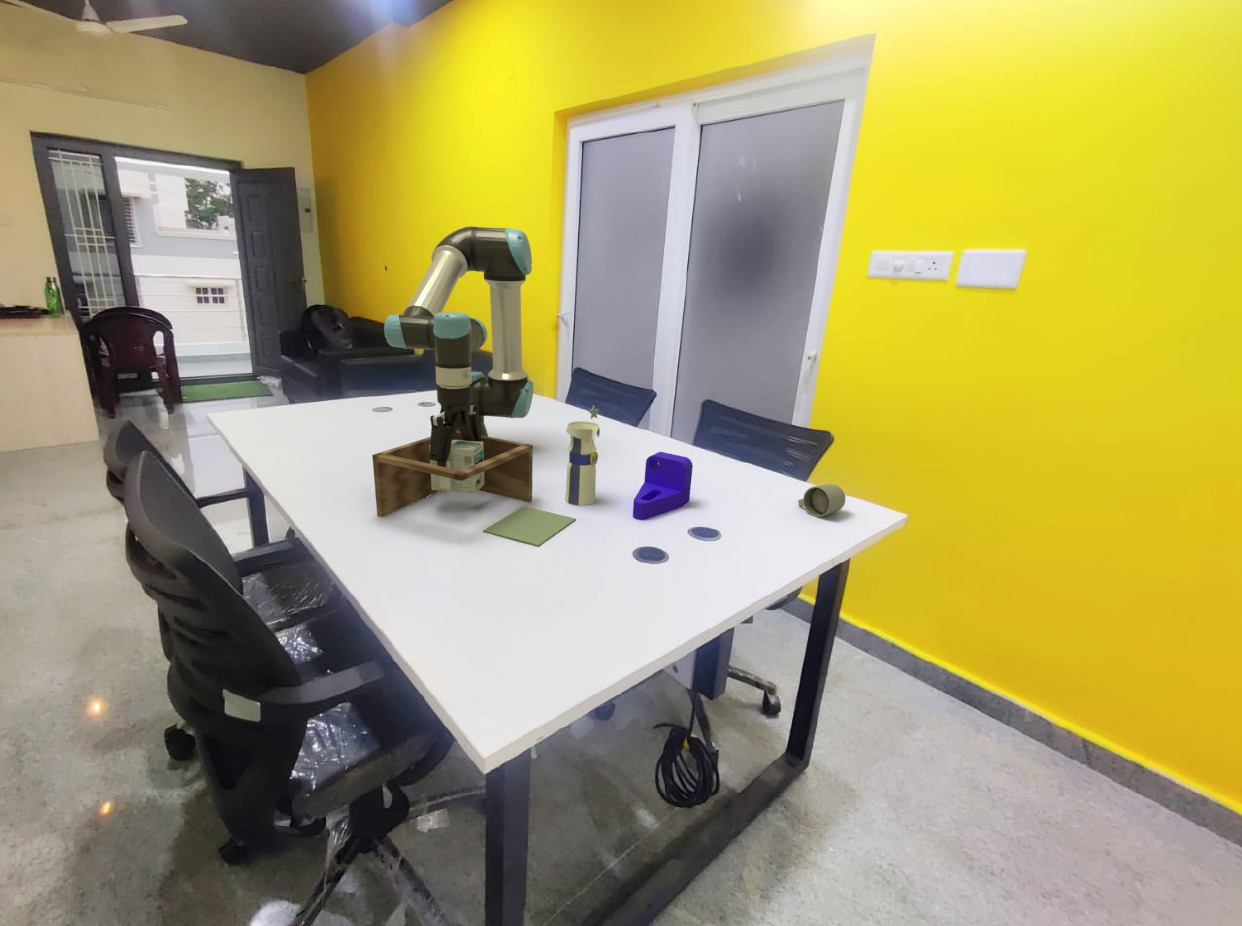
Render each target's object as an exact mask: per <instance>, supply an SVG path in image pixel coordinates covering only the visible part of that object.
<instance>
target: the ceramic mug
mask: <svg viewBox="0 0 1242 926" xmlns="http://www.w3.org/2000/svg"><path fill="white" fill-rule="evenodd" d="M797 502H798V506H799V507H804V509H805V511H806V512H807V513H808V514H810V515H811V516H812V517H815V518H823V517H825V516H828V515H832V514H833V513H837V512H839V511H840V510H841V509H842V508H843V507H844V506H845V503H846V494H845V492H844V489H842V488H841V487H840V486H838V485H837V484H831V483H827V484H821V485H814V486H811V487H809V488H808V489H807V490H806V491H805V492H804V494H803V498H801V499H798V500H797Z"/></svg>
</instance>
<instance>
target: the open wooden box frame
mask: <svg viewBox="0 0 1242 926" xmlns="http://www.w3.org/2000/svg"><path fill="white" fill-rule="evenodd" d="M481 438H482V442H483V449H484V461H483V462H480V463H478V464H476V465H473V466H471V467H468V468H466V469H463V470H461V471H459V470H455V469H450V468H446V467H441V466H437V465H432V464H430V458H429V456H430V454H429V446H430V442H431V436H429V437H426V438H423V439H419V440H416V441H413V442H412V441H411V442H410V443H407V444H406V443H405V444H403V445H399V446H398V447H397V446H396V447H394V448H390V449H388V450H384V451H381V452H378V453H374V454H372V468H373V478H374V493H375V506H376V513H377V514H376V516H378V517H381V518H383V517H385V516H388V515H391V514H392V513H394V512H397V511H399V510H401V508H402V509H403V507H404V508H406V507H408V506H410V505H409V504H411V503H413V502H415V503H417V502H419V501H418V500H420V499H422V498H424V499H426V498H425V497H427V496H429V495H431V494H433V495H435V494H434V493H436V492H438V491H440V492H443V491H442V490H432V489H431V474H434V475H439V476H443V477H447V478H452V479H456V480H460V481H463V480H465V479H468V478H470V477H472V476H474V475H477V474H479V473H481V472H484V480H485V484H484V485H483V486H482V487H481V488H480V489H479V490H478V492H483V491H484V492H485V493H488V494H492V495H497V496H501V497H505V498H509V499H513V500H517V501H523V502H527V503H529V502H531V501H533V464H534V463H533V458H534V457H533V453H534V452H533V444H528V443H524V442H518V441H512V440H506V439H503V438H497V437H492V436H488V437H487V436H482V435H481ZM452 440H463V438H462V435H461V432H460V431H456V432H455V433H454V435H453V439H452ZM475 440H477V439H475ZM463 441H464V440H463ZM438 493H439V492H438ZM436 494H437V493H436ZM431 496H432V495H431ZM429 497H430V496H429ZM427 498H428V497H427ZM422 500H423V499H422ZM416 501H417V502H416ZM420 501H421V500H420ZM413 504H414V503H413ZM407 505H408V506H407ZM411 505H412V504H411ZM405 506H406V507H405Z"/></svg>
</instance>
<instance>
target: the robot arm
mask: <svg viewBox="0 0 1242 926" xmlns="http://www.w3.org/2000/svg"><path fill="white" fill-rule="evenodd" d="M430 258H431V259H430V260H431V263H430V264H429V267H428V268H427V271H426V272H425V274H424V276H423V278H422V279H421V281H420V283H419V284H418V286H417V289H416V290H415V292H414V294H413V295H412V297H411V299H410V301H409V302H408V305H407V307H406V308H405V310H404V311H403V313H402V314H400V313H397V314H390V315H387V317H386V319H385V321H384V326H383V331H384V337H385V339H386V342H387V344H389V346H391V347H394V348H401V349H405V350H408V349H410V350H411V349H412V350H426V351H427V350H430V351H434V356H435V357H434V359H435V382H436V384H437V387H436V397H437V403H439V406H440V411H439V414H436V415H431V416H430V418H429V420H430V426H431V430H430V437H431V442H430V456H429V458H430V460H434V461H437V466H441V467H446V468H450V469H451V466H450V461H447V460H448V456H449V451H450V447H451V443H452V439H453V435H454V433H455V432H456V431H460V432H461V435H462V438H463V440H464V441H476V442H482V438H481V435H482V436H487V437H489V433H488V430H487V428H486V424H485V417H497V418H506V419H507V418H509V419H524V418H525V417H527V416H528V414H529V413H530V410H531V405H532V402H533V395H534V382H533V381H532V380H531V379H528V373H527V372H526V371H525V370H524V369H523V350H522V347H523V343H522V340H523V339H522V297H521V295H522V294H521V292H522V291H521V286H523V285H524V283H525V282H526V280H527V276H528V275H530V274H531V273H532V270H533V269H532V268H533V267H532V265H533V257H532V251H531V246H530V241H529V238H528V236H527V234H526V233H525V232H524V231H523V230H521V229H516V228H509V227H485V226H482V227H481V226H480V227H479V226H466V227H462V228H458V229H456V230H455V231H452V232H451V233H449V234H448V235H447V236H445V237H444V238H443V239H441V241H439V243H438V244H437V245H436V246H435V248H434V249H433V251H432V253H431V257H430ZM467 272H478V273H480V272H482V273H483V280H484V281H485V282H486V283H487V285H488V286H489V298H490V299H489V300H490V303H489V304H490V324H491V325H490V327H491V345H492V346H491V348H492V369H491V370H490V371H489V372H488V375H487V376H488V377H485V375H484V373H483V372H482V371H472V352H475V351H478V350H479V349H481V348H482V347H483V346H484V345H485V344H486V342H487V339H488V330H487V327H486V325H485V324H484V323H483V322H482V321H481V320H479V319H478V318H475V317H470V315H468V314H467V313H464V312H454V311H451V312H450V311H449V312H445V311H444V308H445V307H446V304H447V303H448V301H449V299H450V297H451V294H452V292H453V291H454V288H455V286H456V285H457V283H458V280H459V279H461V278H463V277H464V276H466V274H467ZM443 311H444V312H443ZM475 439H477V440H475ZM442 455H443V456H442ZM439 482H440V487H441V488H445V489H451V478H447V477H443V476H439Z"/></svg>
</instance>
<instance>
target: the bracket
mask: <svg viewBox="0 0 1242 926" xmlns="http://www.w3.org/2000/svg"><path fill="white" fill-rule="evenodd" d="M692 476H693V461H692V460H691V459H690V458H689V457H687V456H682V455H677V454H673V453H669V452H664V451H658V452H656V453H654V454H652V455H650V456H648V457H647V458H646V460H645V471H644V482H643V483H642V485H641V487H640V489H639V490H638V492H637V494H636V495H635V497H634V498H633V504H632V505H633V507H632V508H633V509H632V518H633V519H635V520H638V521H644V520H648V519H651V518H655V517H658V516H660V515H663V514H666V513H669V512H672V511H676V510H678V509H682V508H683V507H684V506H687V504H689V503H690V497H691V489H692V488H691V487H692Z"/></svg>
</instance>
